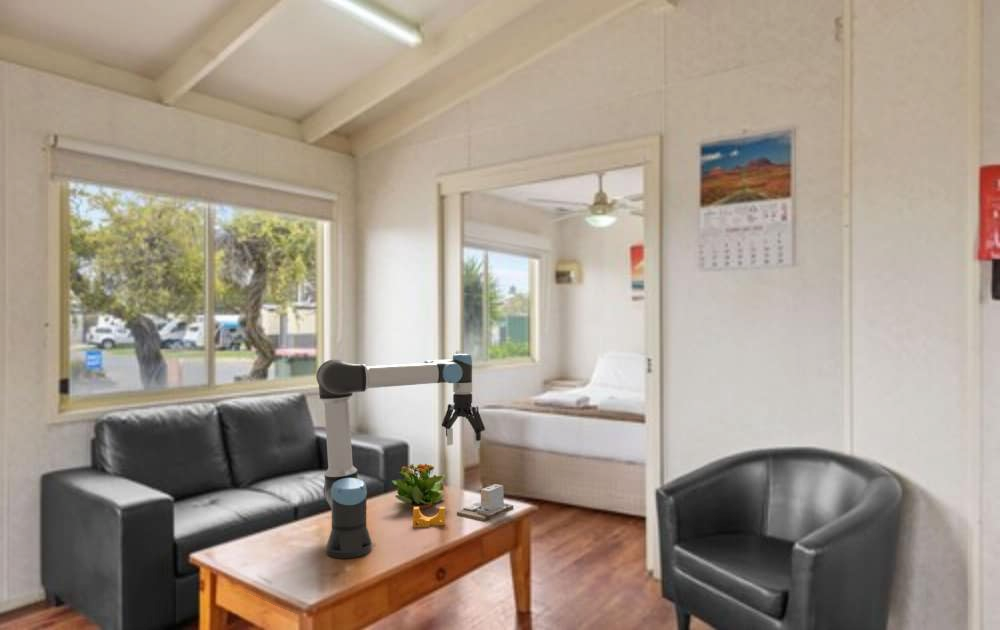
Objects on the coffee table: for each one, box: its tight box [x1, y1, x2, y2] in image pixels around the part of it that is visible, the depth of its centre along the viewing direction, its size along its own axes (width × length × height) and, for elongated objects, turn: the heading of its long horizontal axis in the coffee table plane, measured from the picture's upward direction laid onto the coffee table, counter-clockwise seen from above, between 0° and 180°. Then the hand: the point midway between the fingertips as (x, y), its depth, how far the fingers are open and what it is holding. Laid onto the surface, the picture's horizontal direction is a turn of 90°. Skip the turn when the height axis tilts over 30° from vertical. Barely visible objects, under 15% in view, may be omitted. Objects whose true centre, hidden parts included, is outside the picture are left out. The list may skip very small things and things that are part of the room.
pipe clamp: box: [412, 506, 446, 528], centre depth 235 cm, size 12×4×6 cm, turn 90°
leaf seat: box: [477, 502, 509, 516], centre depth 249 cm, size 13×6×2 cm, turn 144°
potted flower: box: [391, 463, 447, 510], centre depth 259 cm, size 25×24×18 cm
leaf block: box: [480, 483, 505, 513], centre depth 249 cm, size 10×4×9 cm, turn 144°
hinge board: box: [456, 500, 514, 522], centre depth 251 cm, size 20×14×2 cm
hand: (463, 446), depth 241 cm, fingers open, 13 cm apart
